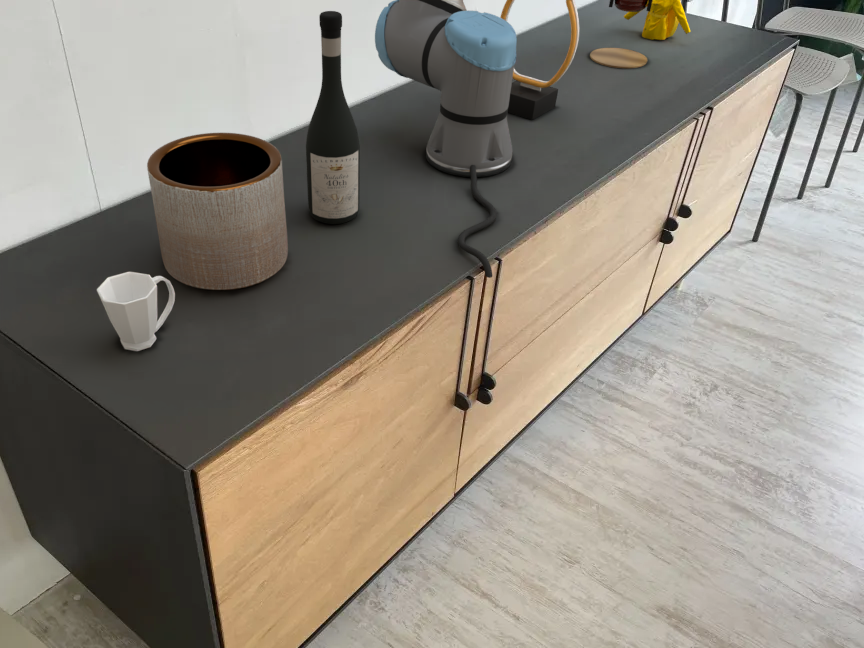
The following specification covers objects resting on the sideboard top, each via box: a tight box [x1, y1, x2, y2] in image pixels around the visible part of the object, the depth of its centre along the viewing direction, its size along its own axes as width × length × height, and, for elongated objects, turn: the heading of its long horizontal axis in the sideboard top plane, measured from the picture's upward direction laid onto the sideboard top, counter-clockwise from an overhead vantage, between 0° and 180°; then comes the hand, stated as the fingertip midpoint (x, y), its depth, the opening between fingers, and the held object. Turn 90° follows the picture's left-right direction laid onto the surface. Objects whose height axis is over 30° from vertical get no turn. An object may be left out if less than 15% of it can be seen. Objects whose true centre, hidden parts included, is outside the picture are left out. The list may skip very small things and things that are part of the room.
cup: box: [96, 271, 176, 352], centre depth 96 cm, size 7×10×8 cm
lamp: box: [499, 0, 580, 121], centre depth 148 cm, size 17×9×32 cm, turn 50°
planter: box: [146, 132, 289, 292], centre depth 107 cm, size 18×18×16 cm
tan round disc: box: [589, 47, 648, 69], centre depth 181 cm, size 13×13×1 cm
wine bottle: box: [305, 10, 361, 225], centre depth 114 cm, size 8×8×30 cm
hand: (629, 7), depth 174 cm, fingers closed on mug, 7 cm apart
